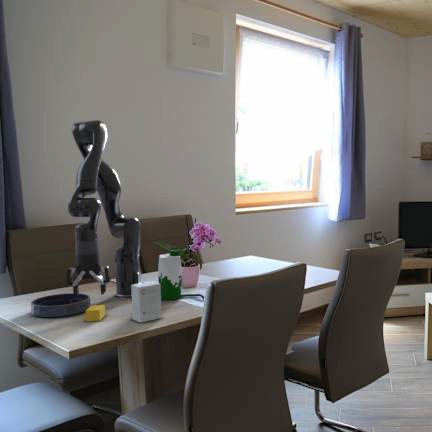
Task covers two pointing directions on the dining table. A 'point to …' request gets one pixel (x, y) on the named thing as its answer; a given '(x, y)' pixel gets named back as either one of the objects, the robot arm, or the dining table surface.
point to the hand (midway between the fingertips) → (89, 294)
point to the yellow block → (95, 312)
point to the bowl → (60, 305)
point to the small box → (146, 301)
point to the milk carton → (170, 275)
